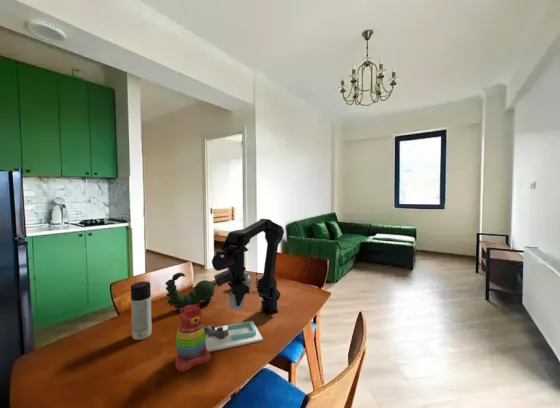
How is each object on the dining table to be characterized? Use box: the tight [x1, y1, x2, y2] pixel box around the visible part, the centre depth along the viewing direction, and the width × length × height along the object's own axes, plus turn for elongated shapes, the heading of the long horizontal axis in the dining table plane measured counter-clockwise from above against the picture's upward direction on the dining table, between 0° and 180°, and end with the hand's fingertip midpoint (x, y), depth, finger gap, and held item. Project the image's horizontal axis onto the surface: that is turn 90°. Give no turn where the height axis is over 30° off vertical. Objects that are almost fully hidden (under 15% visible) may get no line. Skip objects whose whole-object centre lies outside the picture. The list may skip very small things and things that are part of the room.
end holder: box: [227, 320, 256, 340], centre depth 102 cm, size 9×9×2 cm
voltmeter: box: [242, 271, 279, 289], centre depth 150 cm, size 27×11×10 cm, turn 94°
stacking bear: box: [175, 303, 212, 373], centre depth 87 cm, size 11×10×18 cm
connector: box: [229, 292, 245, 310], centre depth 103 cm, size 5×4×5 cm
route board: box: [203, 320, 264, 353], centre depth 101 cm, size 20×14×3 cm
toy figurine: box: [165, 272, 217, 312], centre depth 126 cm, size 9×19×25 cm
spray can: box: [130, 281, 152, 341], centre depth 100 cm, size 7×7×20 cm
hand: (237, 303), depth 104 cm, fingers closed on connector, 4 cm apart
